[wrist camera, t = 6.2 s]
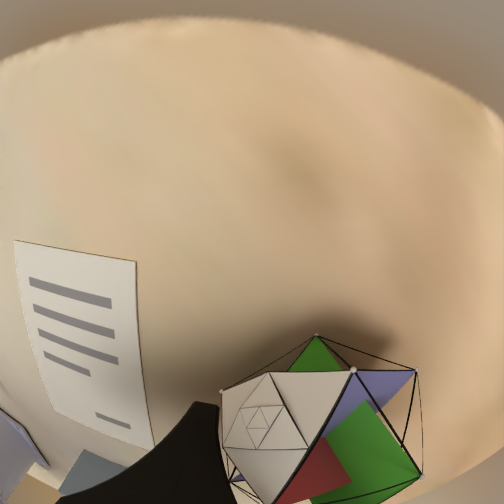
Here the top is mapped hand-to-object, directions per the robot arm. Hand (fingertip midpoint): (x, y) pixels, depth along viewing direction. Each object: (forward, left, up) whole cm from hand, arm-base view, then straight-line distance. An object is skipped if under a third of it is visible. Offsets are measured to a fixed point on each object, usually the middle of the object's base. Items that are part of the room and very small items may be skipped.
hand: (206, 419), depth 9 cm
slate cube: (-8, -13, -2) cm, 15 cm away
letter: (-7, -1, -2) cm, 8 cm away
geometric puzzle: (+4, +1, -2) cm, 5 cm away
